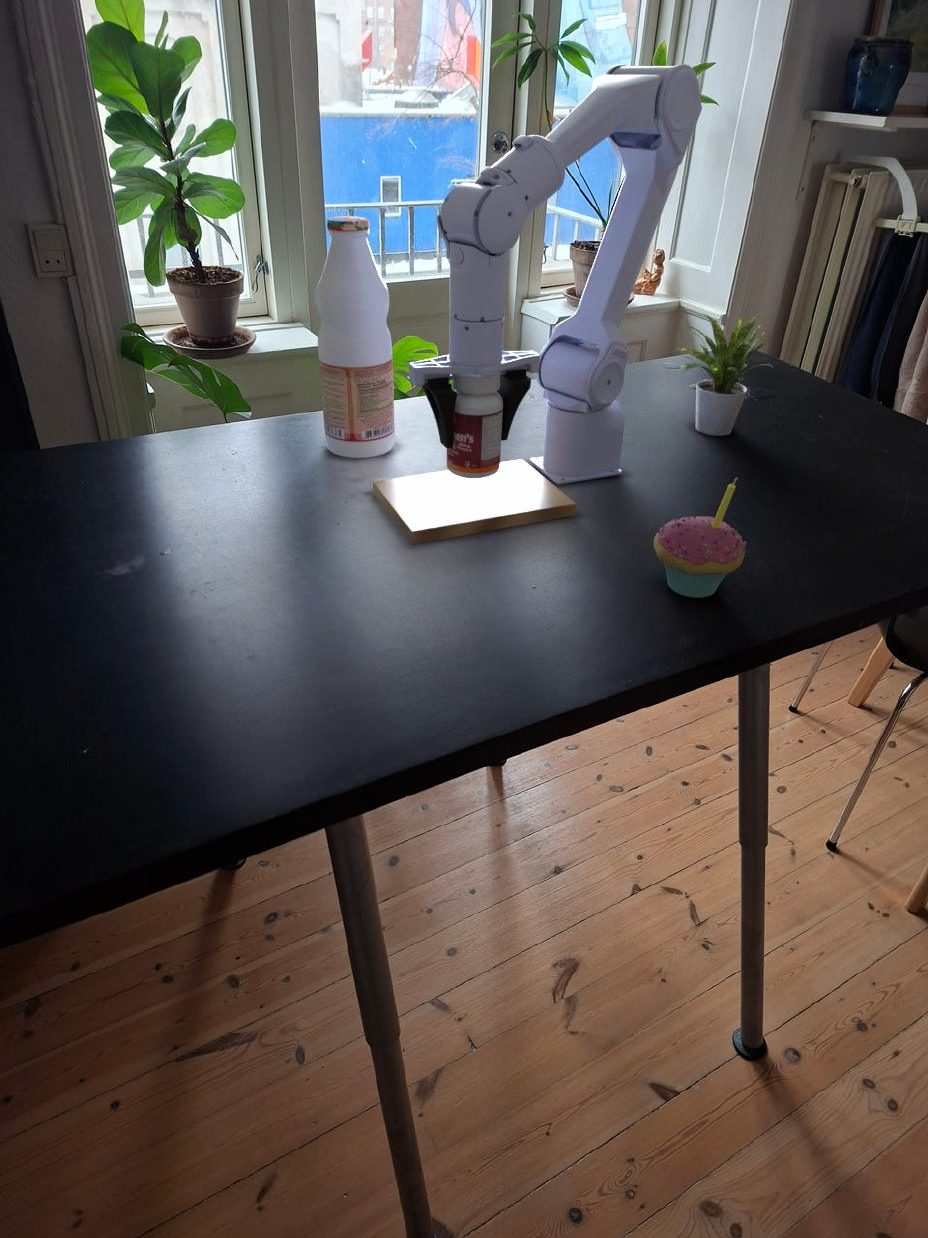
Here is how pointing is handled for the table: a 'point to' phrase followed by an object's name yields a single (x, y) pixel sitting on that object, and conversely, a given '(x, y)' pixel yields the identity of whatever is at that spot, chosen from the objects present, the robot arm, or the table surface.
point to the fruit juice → (354, 345)
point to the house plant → (722, 377)
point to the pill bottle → (476, 426)
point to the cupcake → (699, 551)
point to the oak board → (470, 502)
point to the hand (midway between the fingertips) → (473, 441)
